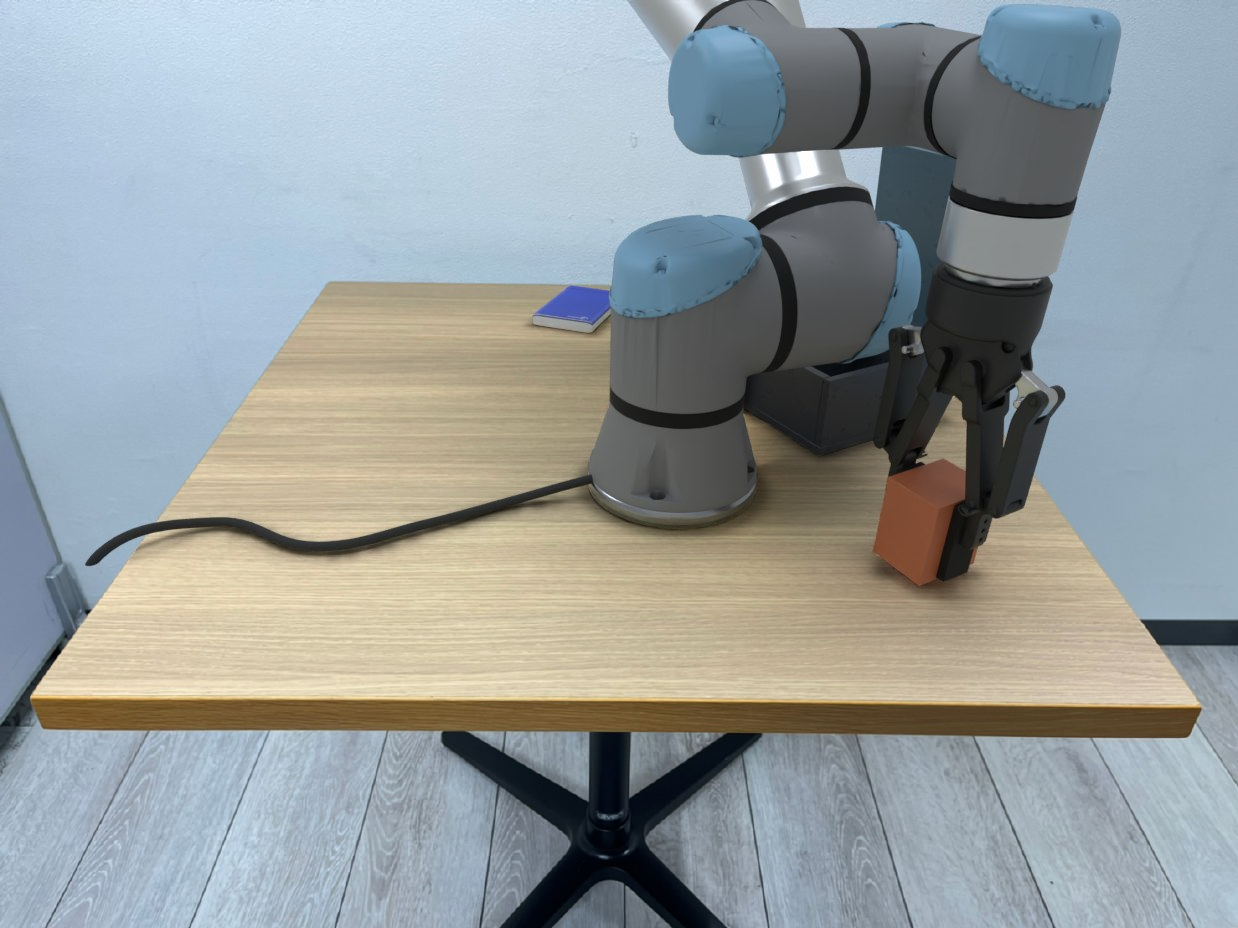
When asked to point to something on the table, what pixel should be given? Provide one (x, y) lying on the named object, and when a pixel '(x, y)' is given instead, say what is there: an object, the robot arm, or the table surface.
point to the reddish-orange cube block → (919, 518)
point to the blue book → (575, 310)
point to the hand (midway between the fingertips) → (923, 554)
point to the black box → (822, 401)
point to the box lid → (916, 203)
